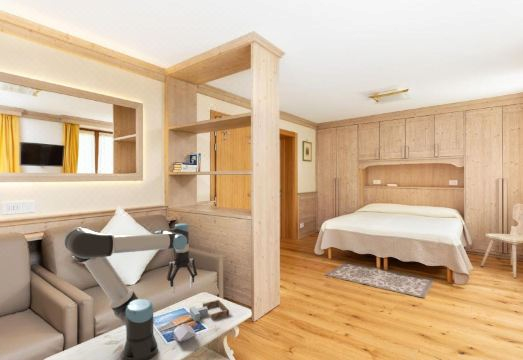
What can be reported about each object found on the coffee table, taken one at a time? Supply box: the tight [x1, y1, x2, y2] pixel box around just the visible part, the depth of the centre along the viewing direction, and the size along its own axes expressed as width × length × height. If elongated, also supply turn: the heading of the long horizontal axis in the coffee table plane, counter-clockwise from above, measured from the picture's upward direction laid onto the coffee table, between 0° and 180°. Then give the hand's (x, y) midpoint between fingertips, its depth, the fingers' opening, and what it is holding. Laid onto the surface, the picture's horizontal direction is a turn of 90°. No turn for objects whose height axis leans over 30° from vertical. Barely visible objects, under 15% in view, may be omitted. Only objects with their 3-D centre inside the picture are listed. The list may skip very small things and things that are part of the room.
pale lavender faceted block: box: [173, 323, 198, 342], centre depth 146 cm, size 9×7×13 cm
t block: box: [189, 306, 209, 322], centre depth 168 cm, size 9×10×4 cm
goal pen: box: [202, 299, 230, 321], centre depth 173 cm, size 10×16×3 cm, turn 30°
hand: (182, 290), depth 163 cm, fingers open, 9 cm apart
